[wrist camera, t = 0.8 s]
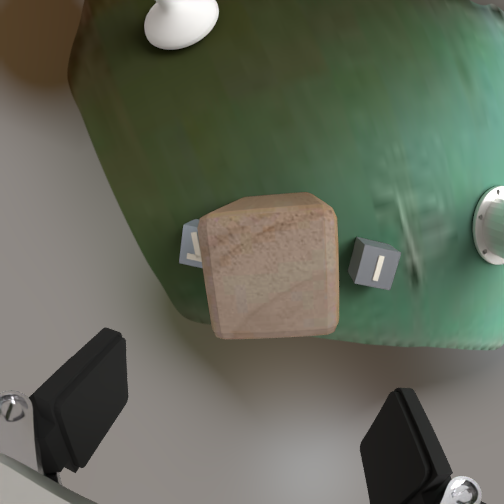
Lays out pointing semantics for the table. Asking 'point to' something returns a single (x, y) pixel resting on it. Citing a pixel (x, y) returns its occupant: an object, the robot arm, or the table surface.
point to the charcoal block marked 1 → (373, 263)
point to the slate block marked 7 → (190, 245)
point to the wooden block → (271, 267)
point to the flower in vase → (180, 22)
